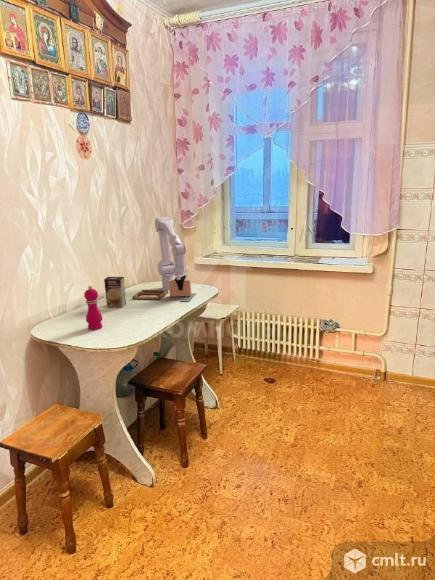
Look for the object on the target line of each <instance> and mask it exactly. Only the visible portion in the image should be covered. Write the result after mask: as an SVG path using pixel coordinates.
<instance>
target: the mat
mask: <svg viewBox="0 0 435 580" xmlns="http://www.w3.org/2000/svg"><path fill="white" fill-rule="evenodd" d="M191 293H192V292H191ZM196 294H197V295H198V293H197V292H196V293H195V292H193V293H192V294H191V296H174V297H170V296H169V297H167V298H166V299H165V302H167V301H168V302H169V301H170V302H179V303H190V302H191V301H192V300H193V299H194V298H195V297H196V296H197V295H196ZM195 295H196V296H195ZM194 296H195V297H194ZM193 297H194V298H193ZM192 298H193V299H192ZM191 299H192V300H191ZM190 300H191V301H190Z"/></svg>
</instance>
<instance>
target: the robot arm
mask: <svg viewBox="0 0 435 580" xmlns="http://www.w3.org/2000/svg"><path fill="white" fill-rule="evenodd" d="M154 227H155V232H156V233H158V238H159V245H160V252H161V253H160V254H161V260H160V261H159V262H158V264H157V265H158V266H157V269H158V270H157V271H158V274H159V276H161V284H162V287H161V289H159V290H168V291H169V280H175V281H176V283H177V286H178V289H179V290H183V283H184V280H185V279H187V278H186V277H187V274H186V263H185V262H186V260H185V254H186V252H187V251H186V249H187V248H186V245H185V243H183V242H181V240H180V237H179V236H178V234H176V233H175V231H174V219H173V218H172V216H165V217H155V219H154ZM169 244H170V245H169ZM169 246H170V247H171V253H172V257H173V260H172V259H171V256H170V255H171V254H170V247H169Z"/></svg>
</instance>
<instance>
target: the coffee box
mask: <svg viewBox="0 0 435 580" xmlns="http://www.w3.org/2000/svg"><path fill="white" fill-rule="evenodd" d="M104 291H105V300H106V308H107V309H111V308H113V309H114V308H122V309H123V308H124V307H125V306H126V305H127V299H126V297H127V295H126V285H125V277H124V276H107V277H106V278H104Z"/></svg>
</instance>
